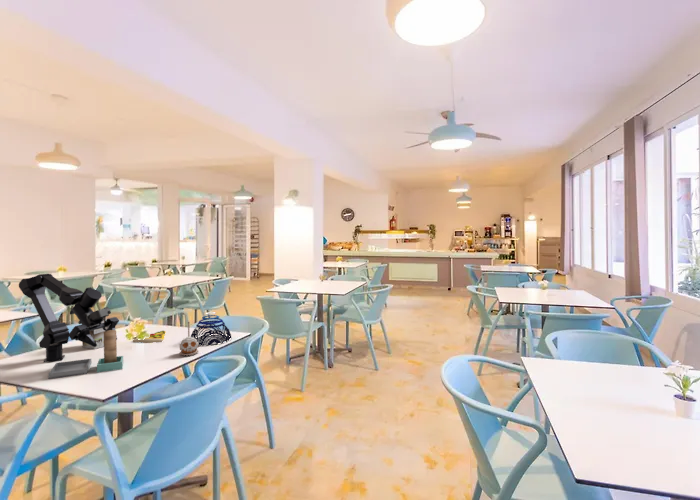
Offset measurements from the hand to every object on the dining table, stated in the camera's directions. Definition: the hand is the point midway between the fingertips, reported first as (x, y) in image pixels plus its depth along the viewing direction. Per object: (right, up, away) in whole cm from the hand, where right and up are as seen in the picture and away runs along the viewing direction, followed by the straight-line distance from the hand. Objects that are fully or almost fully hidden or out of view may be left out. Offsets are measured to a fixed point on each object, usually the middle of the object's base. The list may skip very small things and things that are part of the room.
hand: (106, 343), depth 158 cm
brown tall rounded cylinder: (+2, -10, 0) cm, 10 cm away
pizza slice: (-3, -9, +46) cm, 47 cm away
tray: (-12, -10, -4) cm, 16 cm away
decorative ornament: (+27, -10, +18) cm, 33 cm away
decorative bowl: (+28, -9, +41) cm, 50 cm away
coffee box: (-24, -9, +29) cm, 39 cm away
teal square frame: (+2, -10, 0) cm, 10 cm away
